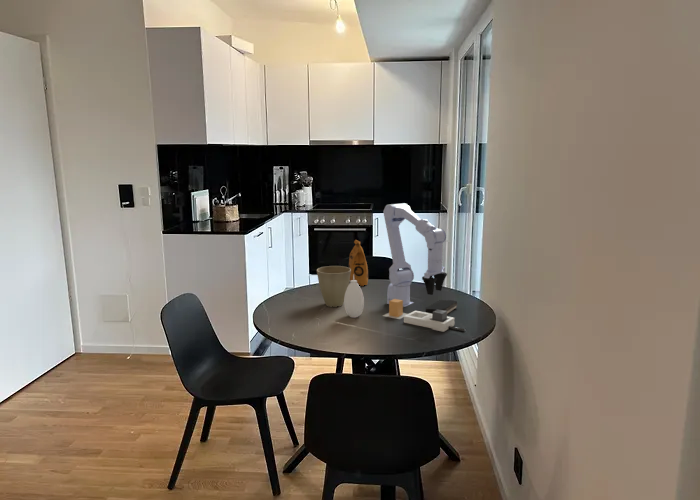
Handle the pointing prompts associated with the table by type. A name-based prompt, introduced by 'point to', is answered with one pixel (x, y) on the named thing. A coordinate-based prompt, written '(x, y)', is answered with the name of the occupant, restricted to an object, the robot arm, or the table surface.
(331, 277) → the plant pot
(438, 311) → the dark grey block
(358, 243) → the coffee package
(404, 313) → the grey mat
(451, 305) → the black sponge
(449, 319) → the white slotted board
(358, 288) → the sauce bottle
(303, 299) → the table surface
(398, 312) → the orange plug
